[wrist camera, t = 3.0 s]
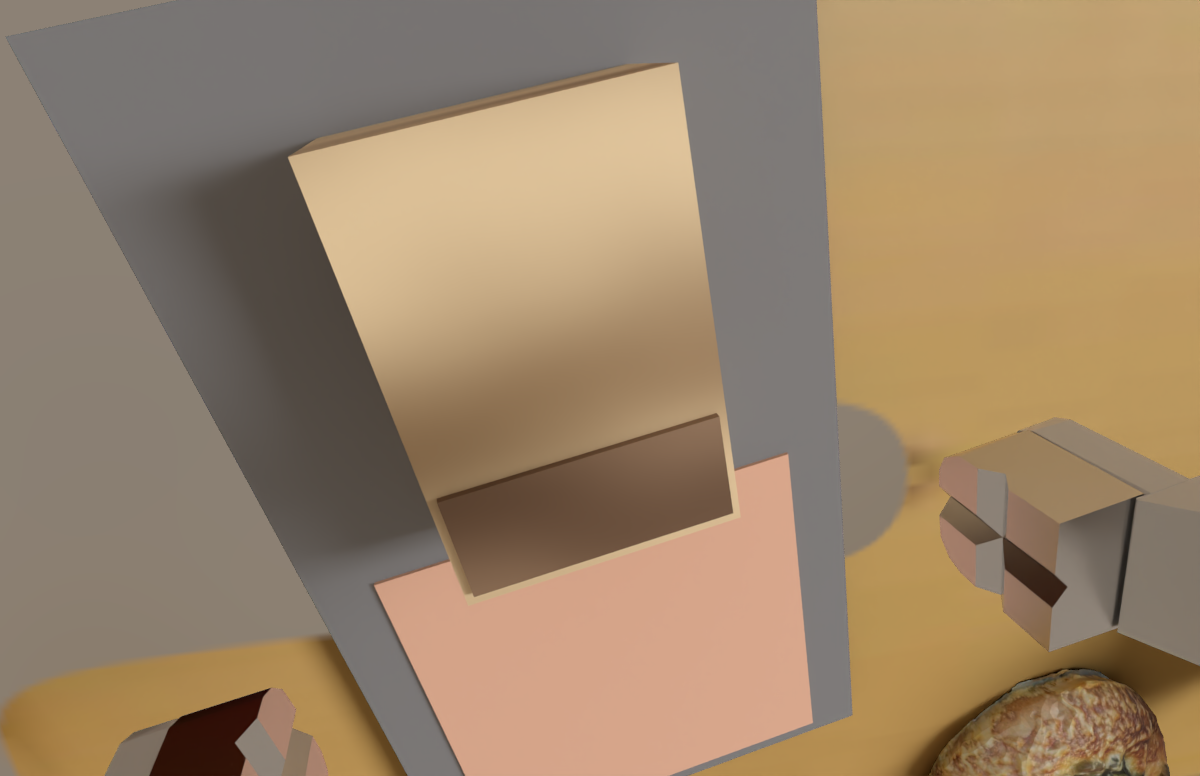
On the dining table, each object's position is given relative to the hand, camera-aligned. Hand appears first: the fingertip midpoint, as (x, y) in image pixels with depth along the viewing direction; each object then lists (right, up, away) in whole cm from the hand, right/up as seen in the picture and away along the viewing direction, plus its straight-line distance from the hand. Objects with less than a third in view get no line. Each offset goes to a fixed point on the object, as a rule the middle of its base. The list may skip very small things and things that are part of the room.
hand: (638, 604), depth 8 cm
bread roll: (+17, -13, +21) cm, 30 cm away
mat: (-1, 0, +10) cm, 10 cm away
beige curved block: (-2, +4, +7) cm, 8 cm away
